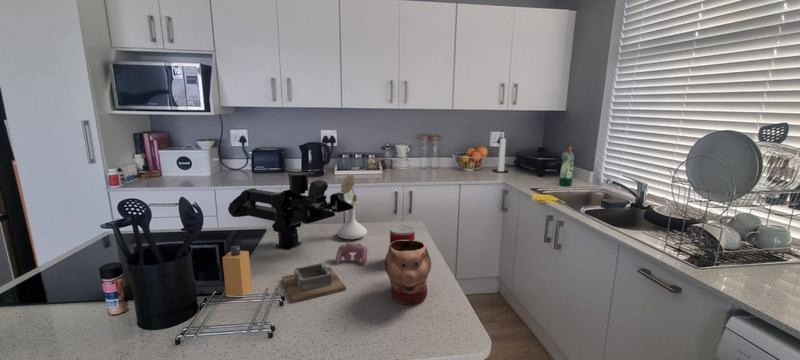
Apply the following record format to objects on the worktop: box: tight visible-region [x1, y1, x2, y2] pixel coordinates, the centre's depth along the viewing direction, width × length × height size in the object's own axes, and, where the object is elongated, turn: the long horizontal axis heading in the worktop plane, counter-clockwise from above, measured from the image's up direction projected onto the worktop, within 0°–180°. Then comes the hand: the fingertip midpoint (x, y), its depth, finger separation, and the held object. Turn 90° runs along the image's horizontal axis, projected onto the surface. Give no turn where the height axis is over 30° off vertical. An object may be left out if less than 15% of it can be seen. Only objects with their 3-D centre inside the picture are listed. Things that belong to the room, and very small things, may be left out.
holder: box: [281, 263, 347, 304], centre depth 100 cm, size 14×14×4 cm
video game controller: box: [335, 242, 368, 266], centre depth 116 cm, size 10×5×7 cm, turn 84°
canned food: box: [389, 224, 416, 245], centre depth 115 cm, size 8×8×11 cm
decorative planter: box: [384, 239, 432, 304], centre depth 95 cm, size 20×12×14 cm, turn 8°
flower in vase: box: [336, 173, 368, 240], centre depth 135 cm, size 13×11×25 cm
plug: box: [222, 245, 253, 296], centre depth 95 cm, size 5×5×13 cm
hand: (344, 210), depth 114 cm, fingers open, 9 cm apart
